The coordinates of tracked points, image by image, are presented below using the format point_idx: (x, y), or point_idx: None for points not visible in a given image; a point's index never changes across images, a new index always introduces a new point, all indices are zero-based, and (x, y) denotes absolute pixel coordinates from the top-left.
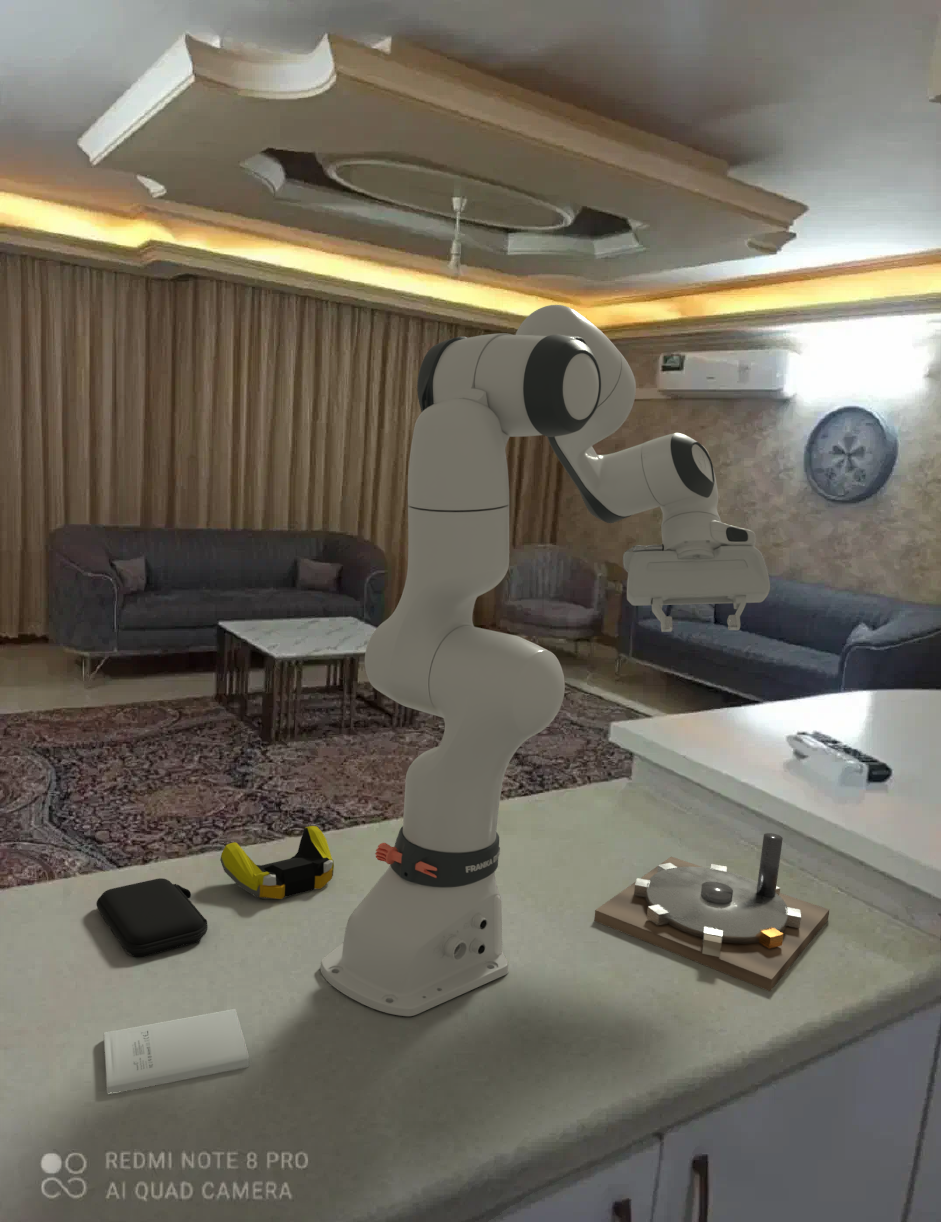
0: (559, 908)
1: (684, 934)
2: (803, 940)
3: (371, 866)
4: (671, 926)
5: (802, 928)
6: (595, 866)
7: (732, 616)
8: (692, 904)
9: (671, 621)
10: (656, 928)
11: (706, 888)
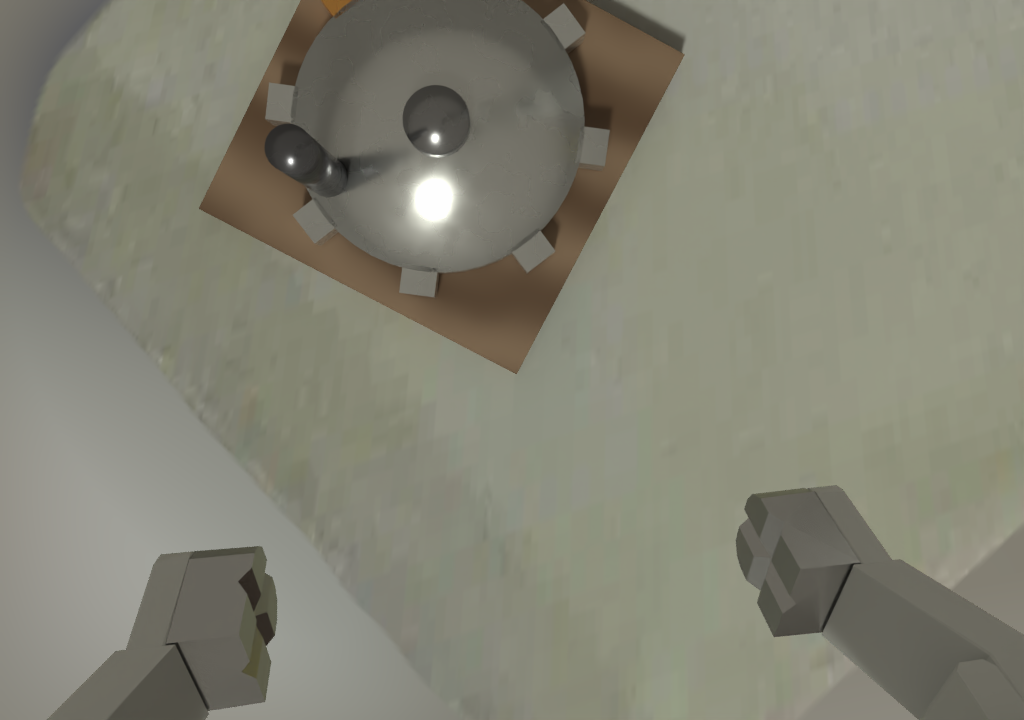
0: (748, 95)
1: None
2: (276, 50)
3: None
4: None
5: None
6: (679, 317)
7: (207, 621)
8: (491, 72)
9: (783, 529)
10: None
11: (460, 110)
